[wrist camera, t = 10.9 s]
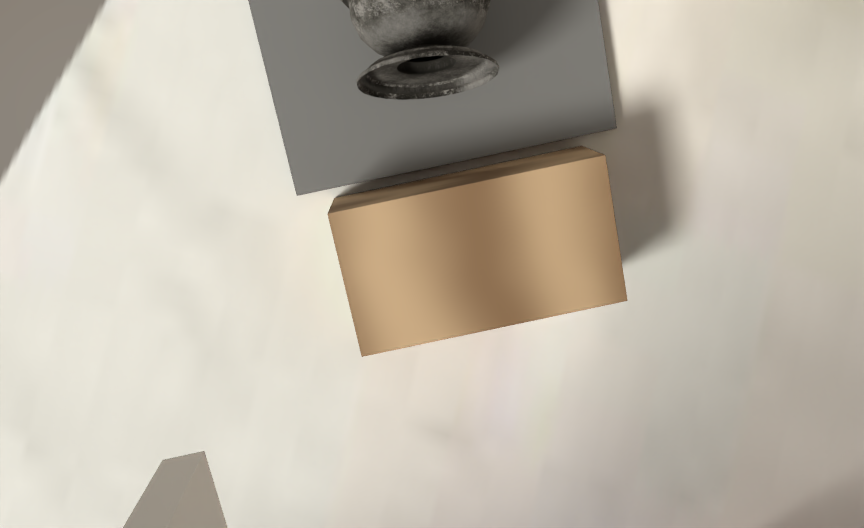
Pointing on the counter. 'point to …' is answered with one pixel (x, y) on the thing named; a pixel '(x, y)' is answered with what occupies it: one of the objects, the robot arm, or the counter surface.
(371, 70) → the dark grey tall piece
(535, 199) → the light wooden rectangular block
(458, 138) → the grey rubber mat
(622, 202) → the counter surface
